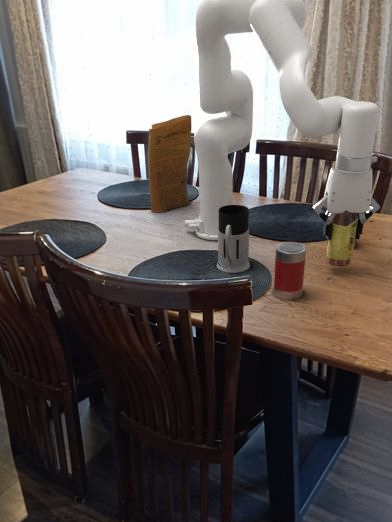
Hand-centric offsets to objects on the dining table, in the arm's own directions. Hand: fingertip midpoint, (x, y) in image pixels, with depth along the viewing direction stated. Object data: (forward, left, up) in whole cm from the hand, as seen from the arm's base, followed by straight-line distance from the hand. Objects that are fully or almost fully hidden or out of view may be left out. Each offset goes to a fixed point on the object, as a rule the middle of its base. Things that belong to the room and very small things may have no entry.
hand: (341, 237), depth 129 cm
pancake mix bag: (-42, +55, -9) cm, 69 cm away
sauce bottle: (0, 0, -7) cm, 7 cm away
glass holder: (-27, +4, -9) cm, 28 cm away
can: (-15, -10, -9) cm, 20 cm away
